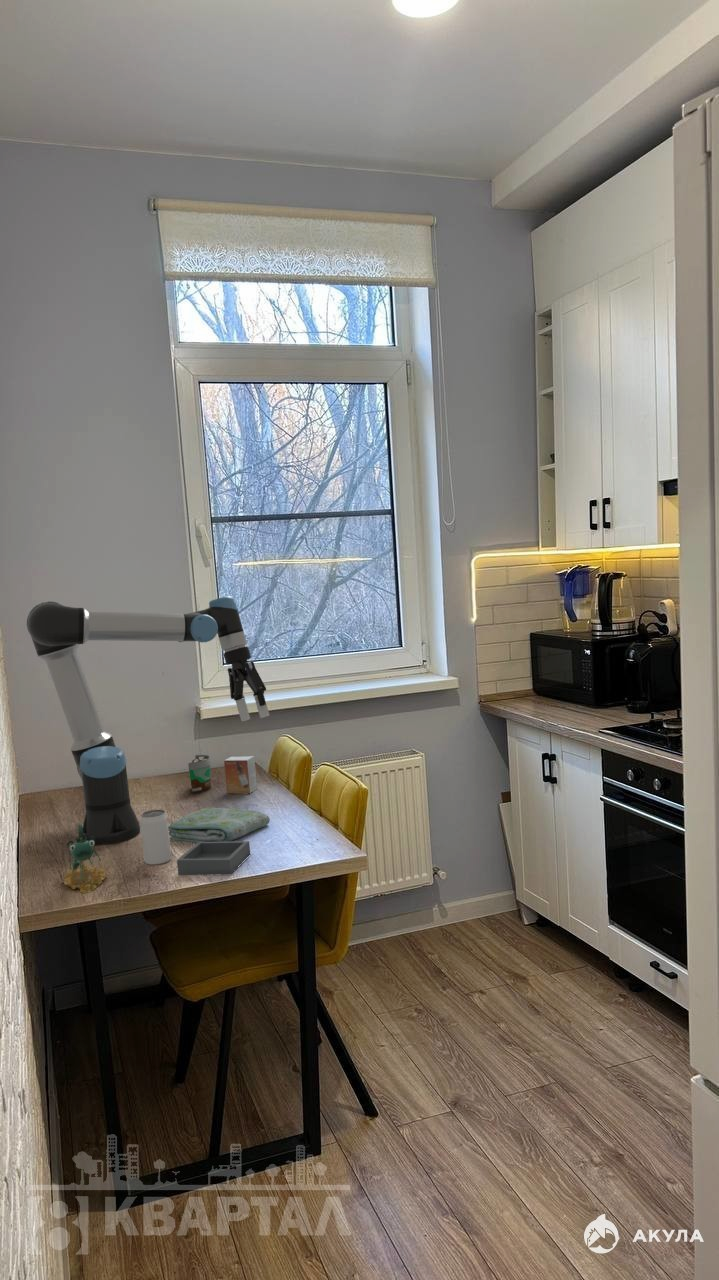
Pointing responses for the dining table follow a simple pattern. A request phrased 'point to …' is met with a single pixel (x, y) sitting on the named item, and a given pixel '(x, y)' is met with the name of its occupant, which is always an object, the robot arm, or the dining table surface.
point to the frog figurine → (85, 875)
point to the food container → (200, 773)
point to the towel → (217, 825)
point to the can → (155, 837)
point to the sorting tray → (213, 858)
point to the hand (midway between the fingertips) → (255, 718)
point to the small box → (240, 774)
